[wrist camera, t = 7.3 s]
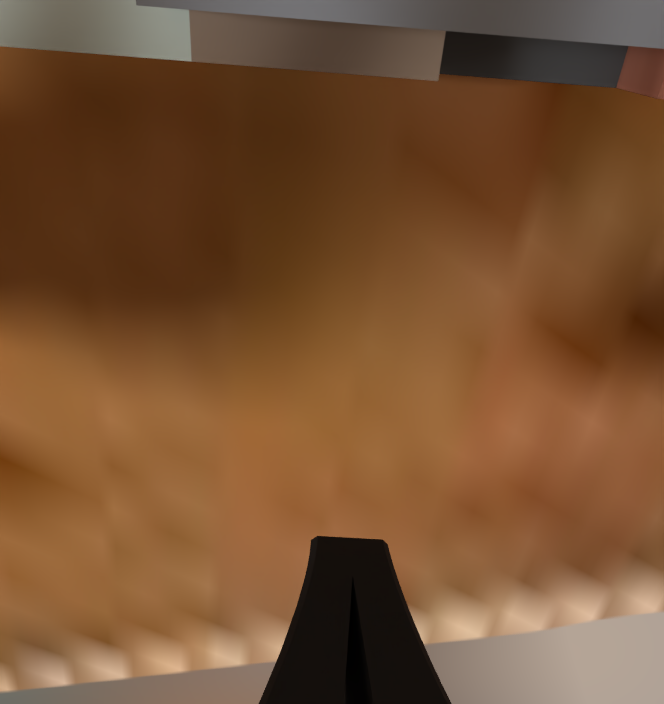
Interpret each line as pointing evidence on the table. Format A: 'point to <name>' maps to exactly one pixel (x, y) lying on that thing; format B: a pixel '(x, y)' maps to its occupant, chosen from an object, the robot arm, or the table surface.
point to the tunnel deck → (367, 36)
